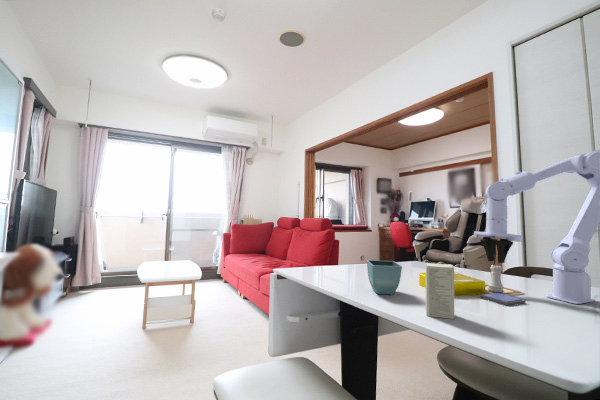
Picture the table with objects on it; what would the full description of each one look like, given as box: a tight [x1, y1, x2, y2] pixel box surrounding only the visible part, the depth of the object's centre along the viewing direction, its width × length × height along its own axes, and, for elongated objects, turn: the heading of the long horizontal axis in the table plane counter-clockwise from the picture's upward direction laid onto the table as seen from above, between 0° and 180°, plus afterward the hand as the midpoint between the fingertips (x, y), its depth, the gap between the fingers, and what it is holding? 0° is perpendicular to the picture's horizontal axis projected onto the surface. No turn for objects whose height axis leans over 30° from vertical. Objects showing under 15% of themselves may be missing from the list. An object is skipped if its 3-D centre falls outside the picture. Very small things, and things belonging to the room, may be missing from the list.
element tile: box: [418, 271, 486, 297], centre depth 100 cm, size 15×15×5 cm
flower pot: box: [366, 259, 403, 295], centre depth 94 cm, size 9×9×9 cm
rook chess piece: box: [487, 264, 505, 293], centre depth 97 cm, size 4×4×8 cm
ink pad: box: [479, 293, 526, 307], centre depth 89 cm, size 8×8×1 cm
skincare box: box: [425, 262, 455, 320], centre depth 75 cm, size 6×4×12 cm
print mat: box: [485, 284, 525, 297], centre depth 100 cm, size 11×11×1 cm
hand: (496, 261), depth 100 cm, fingers open, 3 cm apart
